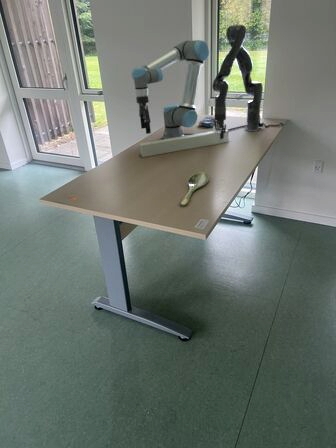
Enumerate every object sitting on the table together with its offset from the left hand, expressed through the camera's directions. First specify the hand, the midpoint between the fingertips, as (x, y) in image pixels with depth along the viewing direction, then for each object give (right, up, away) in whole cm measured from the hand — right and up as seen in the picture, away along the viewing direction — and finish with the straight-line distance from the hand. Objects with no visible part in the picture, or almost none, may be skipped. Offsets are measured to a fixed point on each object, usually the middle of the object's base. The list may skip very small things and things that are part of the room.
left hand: (145, 130), depth 213 cm
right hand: (+50, 0, +17) cm, 53 cm away
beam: (+26, -8, +14) cm, 30 cm away
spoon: (+27, -42, -43) cm, 66 cm away
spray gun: (+49, +22, +60) cm, 80 cm away
